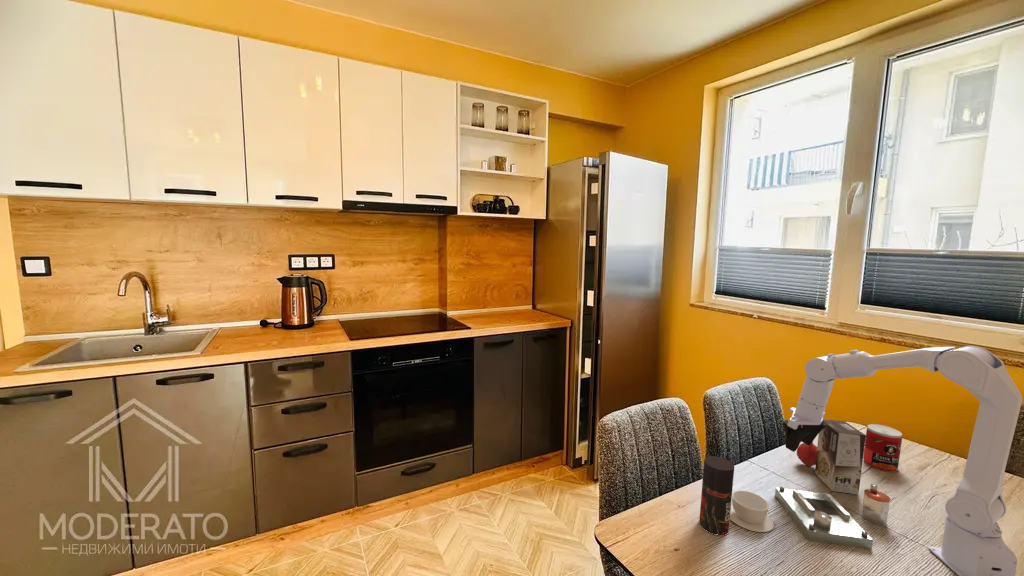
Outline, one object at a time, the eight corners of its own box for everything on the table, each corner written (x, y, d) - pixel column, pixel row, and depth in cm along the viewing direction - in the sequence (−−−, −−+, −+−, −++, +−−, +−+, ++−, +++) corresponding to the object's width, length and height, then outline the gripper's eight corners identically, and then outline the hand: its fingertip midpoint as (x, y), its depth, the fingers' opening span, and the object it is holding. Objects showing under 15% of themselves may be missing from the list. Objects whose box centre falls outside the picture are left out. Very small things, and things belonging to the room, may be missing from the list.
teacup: (748, 537, 88) (750, 517, 87) (714, 508, 97) (716, 490, 97) (784, 530, 90) (786, 510, 90) (747, 502, 100) (749, 484, 99)
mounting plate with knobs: (871, 549, 85) (874, 530, 84) (808, 540, 87) (810, 521, 86) (827, 502, 100) (829, 486, 100) (774, 495, 103) (776, 480, 102)
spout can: (891, 528, 91) (896, 495, 91) (869, 525, 92) (873, 492, 91) (878, 515, 96) (882, 484, 95) (856, 512, 97) (860, 481, 96)
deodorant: (724, 539, 86) (730, 473, 85) (695, 526, 90) (700, 463, 89) (731, 525, 91) (737, 462, 89) (703, 513, 95) (708, 453, 93)
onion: (791, 463, 119) (793, 437, 118) (802, 459, 121) (805, 434, 120) (812, 473, 113) (815, 446, 112) (824, 469, 116) (827, 442, 115)
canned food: (871, 469, 116) (876, 433, 115) (857, 456, 124) (861, 422, 123) (904, 474, 114) (909, 437, 113) (887, 460, 122) (892, 425, 120)
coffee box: (860, 495, 104) (867, 435, 102) (831, 491, 105) (838, 432, 103) (839, 475, 113) (845, 420, 111) (813, 472, 114) (819, 418, 112)
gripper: (810, 389, 111) (796, 432, 114) (781, 397, 104) (767, 443, 107) (839, 402, 105) (824, 447, 108) (811, 411, 98) (795, 459, 101)
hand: (797, 446), depth 107 cm, fingers open, 7 cm apart
